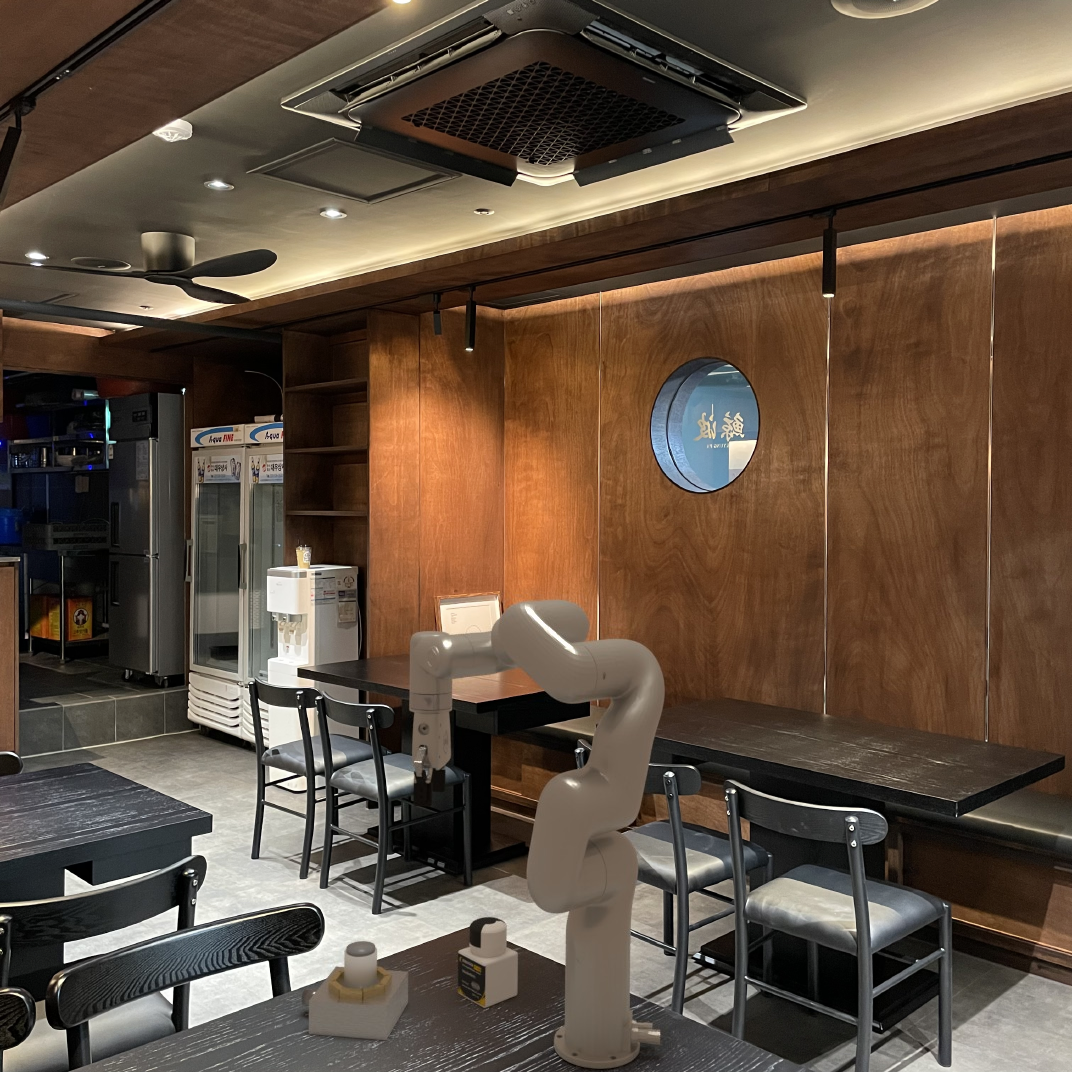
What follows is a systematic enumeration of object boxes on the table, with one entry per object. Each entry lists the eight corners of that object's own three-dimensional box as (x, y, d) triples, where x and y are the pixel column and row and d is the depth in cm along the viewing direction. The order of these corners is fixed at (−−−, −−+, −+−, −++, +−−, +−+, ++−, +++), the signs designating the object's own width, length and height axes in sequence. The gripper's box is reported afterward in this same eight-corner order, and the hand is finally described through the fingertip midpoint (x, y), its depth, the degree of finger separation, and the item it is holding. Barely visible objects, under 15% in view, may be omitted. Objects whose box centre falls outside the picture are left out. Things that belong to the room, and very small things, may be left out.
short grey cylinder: (380, 979, 158) (381, 941, 158) (371, 994, 153) (371, 954, 153) (350, 977, 158) (350, 939, 158) (339, 991, 153) (339, 952, 153)
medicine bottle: (456, 993, 164) (457, 920, 164) (490, 980, 169) (491, 909, 169) (484, 1009, 159) (485, 933, 159) (518, 995, 164) (519, 922, 164)
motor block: (407, 1002, 161) (408, 964, 161) (386, 1040, 149) (386, 998, 149) (317, 995, 163) (318, 957, 163) (289, 1032, 151) (290, 991, 151)
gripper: (440, 711, 168) (438, 812, 168) (462, 694, 186) (461, 787, 186) (396, 709, 169) (395, 810, 170) (422, 693, 187) (421, 785, 187)
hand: (429, 798), depth 178 cm, fingers open, 9 cm apart
